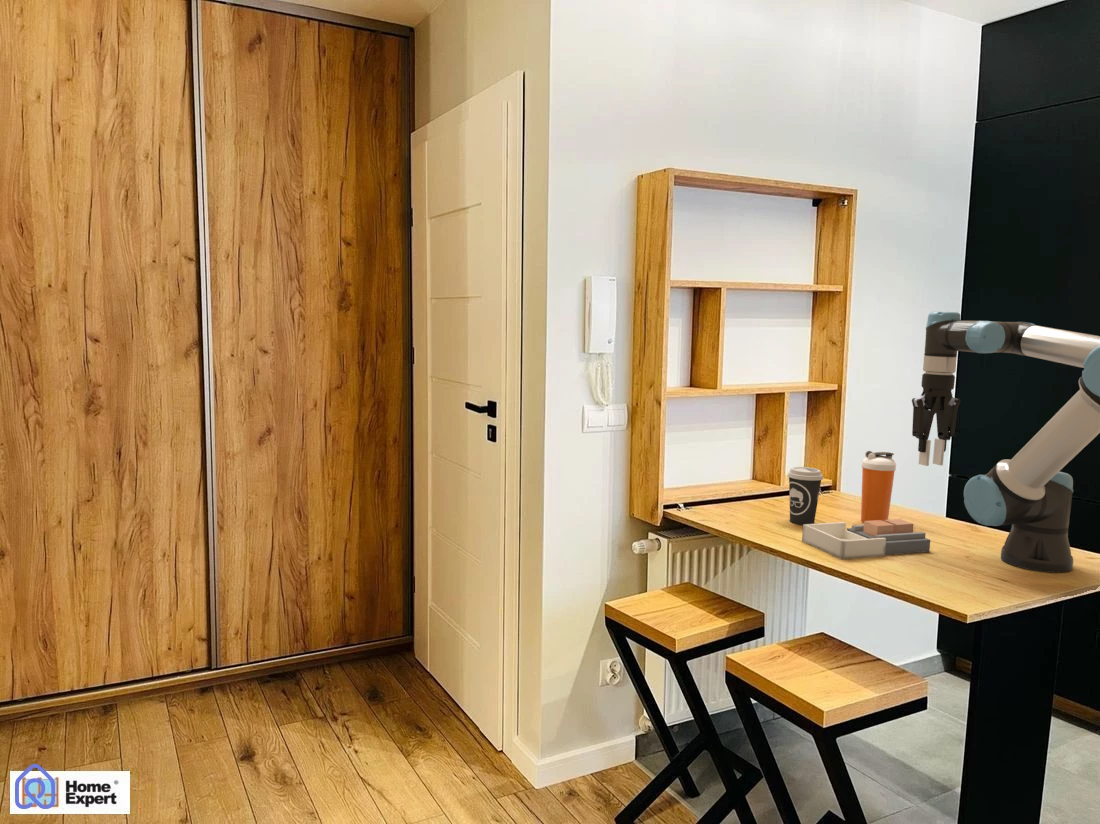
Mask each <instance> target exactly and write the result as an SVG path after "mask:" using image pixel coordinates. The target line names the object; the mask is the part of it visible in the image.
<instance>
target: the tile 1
mask: <svg viewBox="0 0 1100 824" xmlns="http://www.w3.org/2000/svg"><path fill="white" fill-rule="evenodd" d="M863 525H864V530H863V533H866V534H868V535H871V536H873V537H876V535H884V534H893V531H894V525H893V524H890V523H887V522H884V521H882V520H873V521H864V523H863Z"/></svg>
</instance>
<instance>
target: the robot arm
mask: <svg viewBox="0 0 1100 824" xmlns="http://www.w3.org/2000/svg"><path fill="white" fill-rule="evenodd" d="M958 352H967V353H968V352H969V353H977V354H993V353H1000V354H1001V353H1005V354H1015V355H1019V356H1025V357H1031V358H1035V359H1041V360H1045V361H1048V362H1049V361H1050V362H1053V363H1060V364H1063V365H1068V366H1073V367H1077V368H1083V370H1082V372H1081V376H1080V377H1079V379H1078V386H1079V390H1078V391H1077V392H1076V393H1075V394H1074V395H1073V396H1071V398H1070V399H1069V400H1068V401H1067V402H1066V403H1065V404H1064V405H1063V406H1062V407H1061V408H1059V410H1058V411H1057V412H1055V414H1054V415H1053V416H1052V417H1051V418H1050V419H1049V420H1048V421H1047V422H1046V423H1045V424H1044V425H1043V427H1041V429H1039V431H1038V432H1036V434H1035V435H1033V437H1032V438H1031V439H1030V440H1029V441H1027V443H1026V444H1025V445H1024V446H1023V447H1021V449H1020V450H1019V451H1018V452H1017V453H1016V454H1014V456H1013V457H1012V458H1011V459H1001V460H999V461H998V462H997V463H996V464H995V465H994V466H993V468H991V469H990V471H989V472H988V473H986V474H978V475H975V476H972V477H971V478H969V480H968V481H967V482H966V483H965V486H964V487H963V488H964V489H963V498H964V500H963V503H964V507H965V509H966V510H967V513H968V514H969V516H970V517H971V518H972V519H973V520H974V521H975V522H976V523H978V524H981V525H983V526H992V527H999V526H1007V525H1011V528H1010V531H1009V533H1008V535H1007V537H1006V539H1005V541H1004V545H1002V547H1001V549H1000V559H1001V561H1003V562H1004V563H1006V564H1009V565H1011V566H1015V567H1019V568H1021V569H1025V570H1026V569H1027V570H1031V571H1038V572H1045V573H1047V572H1048V573H1068V572H1071V571H1072V570H1073V568H1074V557H1073V555H1072V551H1071V545H1070V542H1069V541H1070V540H1069V537H1068V536H1069V525H1070V515H1071V508H1072V498H1073V493H1074V489H1073V488H1074V487H1073V486H1074V480H1073V477H1072V475H1071V474H1069V473H1067V472H1063V471H1061V470H1063V468H1064V467H1065V466H1066V465H1068V463H1069V462H1071V461H1072V460H1073V459H1074V458H1075V457H1076V456H1077V455H1079V453H1080V452H1081V451H1082V450H1083V449H1084V448H1085V447H1086V446H1088V445H1089V444H1090V443H1091V442H1092V441H1093V440H1094V439H1095V438H1096V437H1097V436H1098V435H1099V434H1100V336H1099V335H1095V334H1090V333H1083V332H1077V331H1072V330H1065V329H1060V328H1053V327H1048V326H1041V325H1036V324H1035V323H1032V322H1026V321H992V320H991V321H990V320H962V319H961V314H960V313H959V312H956V311H955V312H954V311H931V312H929V314H928V315H927V321H926V327H925V343H924V354H923V365H922V366H923V367H922V370H923V372H924V373H923V374H922V375H921V376H922V377H921V387H922V389H923V390H922V393H921V395H920V396H919V397H913V398H912V399H911V403H912V406H913V407H912V408H913V409H912V411H913V412H912V429H911V430H912V433H911V434H912V435H911V436H912V437H915V438H916V439H918V447H917V450H918V453H919V454H918V465H921V466H925V467H928V466H929V465H930V456H931V443H932V440H930V439H929V437H930V434H931V429H932V426H933V421H934V416H936V417H935V418H936V428H937V429H936V431H937V433H936V434H937V438H934V442H933V443H934V444H933V457H932V464H934V465H938V466H944V458H945V457H944V456H945V452H946V450H947V442H948V441H950V440H951V439H952V438H953V437H955V433H956V425H957V417H958V411H959V410H958V409H959V406H960V404H961V399H960V398H956V397H954V396H953V393H952V390H954V388H955V383H956V382H955V379H956V376H955V375H954V374H955V373H956V370H957V360H958V359H957V356H958Z"/></svg>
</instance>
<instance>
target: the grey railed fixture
mask: <svg viewBox="0 0 1100 824" xmlns="http://www.w3.org/2000/svg"><path fill="white" fill-rule="evenodd" d="M846 530H848V531H850V532H853V533H855V534H857V535H860V536H862V537H865V538H867V539H872V538H886V545H885V556H887V555H889V556H890V555H899V554H901V555H902V554H915V553H927V552H928V553H930V548H931V539H929V538H926V534H927V533H926V532H924V531H919V532H918V531H916V532H913V533H899V534H884V535H876V537H873V536H871V535H868V534H866V533H863V530H864V524H855V525H854V524H853V525H851V527H846Z"/></svg>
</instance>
